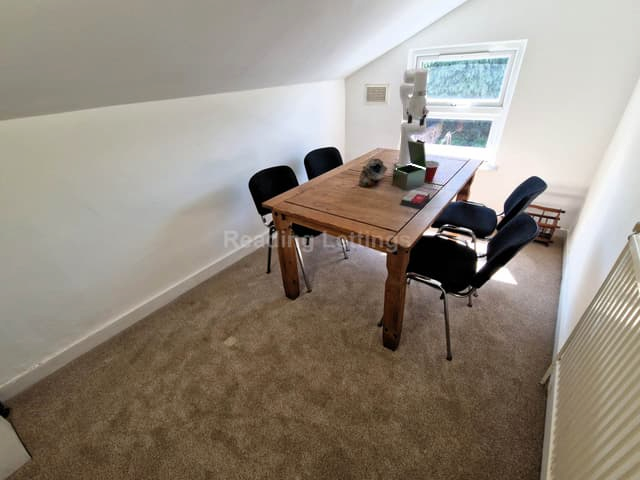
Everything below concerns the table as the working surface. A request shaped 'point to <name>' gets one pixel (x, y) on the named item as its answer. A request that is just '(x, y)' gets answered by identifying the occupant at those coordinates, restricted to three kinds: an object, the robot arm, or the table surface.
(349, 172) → the table surface
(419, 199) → the calculator
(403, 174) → the bin
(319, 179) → the table surface
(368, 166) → the hollow geode rock
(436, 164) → the plastic cup
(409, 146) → the bin lid
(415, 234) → the table surface
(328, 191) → the table surface
